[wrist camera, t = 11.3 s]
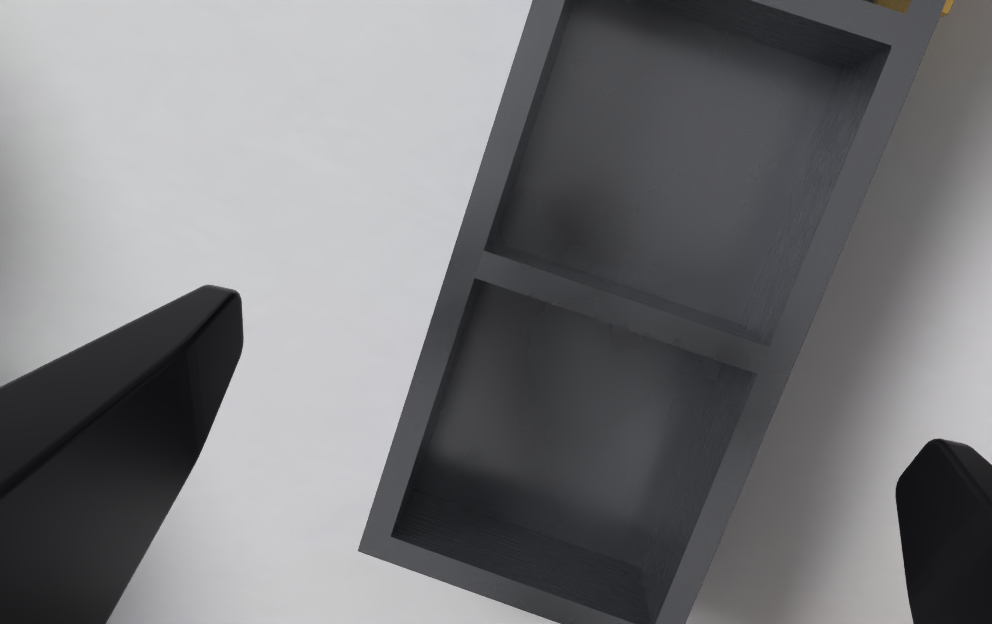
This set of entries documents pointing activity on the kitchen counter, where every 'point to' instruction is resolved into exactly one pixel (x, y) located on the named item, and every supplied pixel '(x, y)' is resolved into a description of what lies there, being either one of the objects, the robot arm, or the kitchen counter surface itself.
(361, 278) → the kitchen counter surface
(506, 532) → the rack
